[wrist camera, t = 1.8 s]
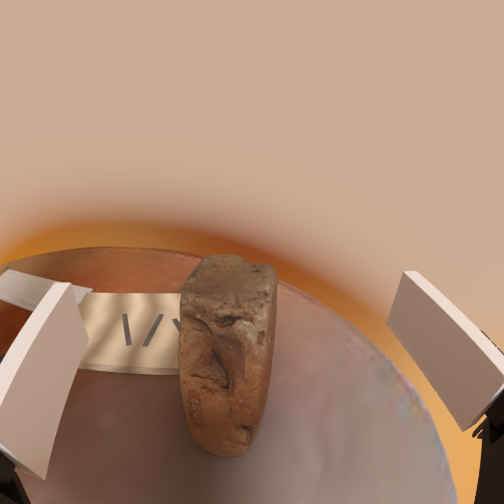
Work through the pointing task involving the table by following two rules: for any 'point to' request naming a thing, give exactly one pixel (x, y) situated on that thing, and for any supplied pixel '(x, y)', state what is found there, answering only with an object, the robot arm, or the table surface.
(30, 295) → the baseboard
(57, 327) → the robot arm
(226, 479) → the table surface
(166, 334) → the board
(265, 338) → the block
